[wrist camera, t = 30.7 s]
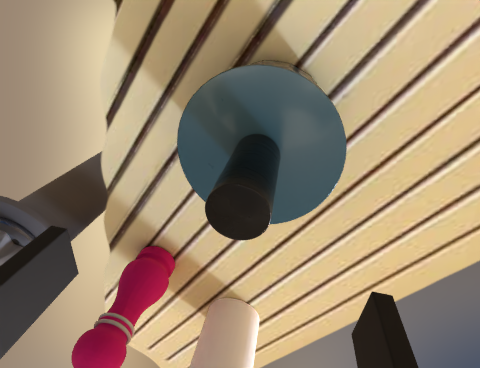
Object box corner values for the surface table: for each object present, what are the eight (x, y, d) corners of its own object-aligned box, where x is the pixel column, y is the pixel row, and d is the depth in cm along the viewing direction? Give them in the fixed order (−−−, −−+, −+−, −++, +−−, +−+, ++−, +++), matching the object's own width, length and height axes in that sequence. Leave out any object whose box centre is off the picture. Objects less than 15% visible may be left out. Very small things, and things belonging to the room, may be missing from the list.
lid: (181, 203, 30) (132, 275, 21) (180, 52, 22) (105, 65, 14) (321, 230, 28) (331, 320, 19) (368, 76, 21) (418, 107, 12)
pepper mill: (186, 262, 46) (119, 399, 29) (163, 281, 50) (90, 414, 32) (151, 235, 45) (59, 362, 28) (130, 257, 48) (36, 382, 31)
